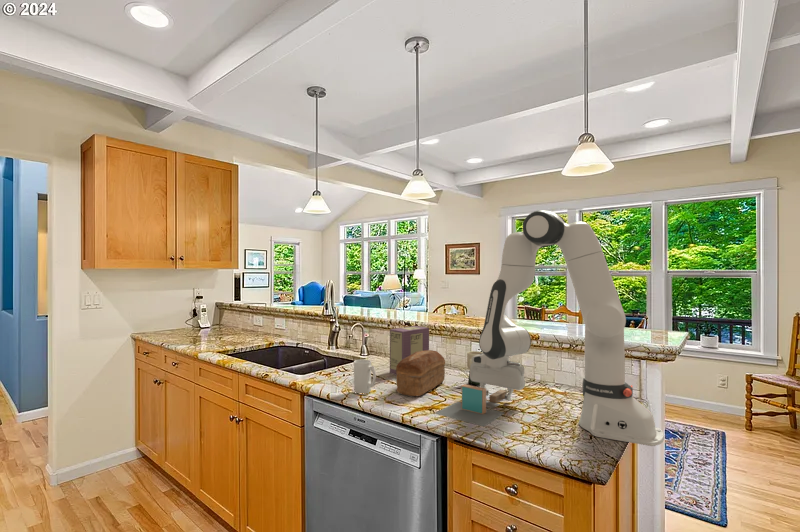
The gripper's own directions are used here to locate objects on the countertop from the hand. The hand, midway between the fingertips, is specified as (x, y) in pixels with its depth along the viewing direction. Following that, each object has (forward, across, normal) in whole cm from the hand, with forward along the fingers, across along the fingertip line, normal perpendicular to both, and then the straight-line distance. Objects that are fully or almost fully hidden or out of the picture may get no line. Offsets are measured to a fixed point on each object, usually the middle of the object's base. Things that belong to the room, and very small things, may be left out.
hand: (496, 397), depth 149 cm
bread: (+2, +31, +3) cm, 31 cm away
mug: (+2, +44, +22) cm, 49 cm away
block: (+1, +1, +15) cm, 15 cm away
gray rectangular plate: (+2, +1, +18) cm, 18 cm away
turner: (+2, 0, +2) cm, 2 cm away
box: (+2, +51, -15) cm, 53 cm away
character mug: (+2, +17, -16) cm, 23 cm away
